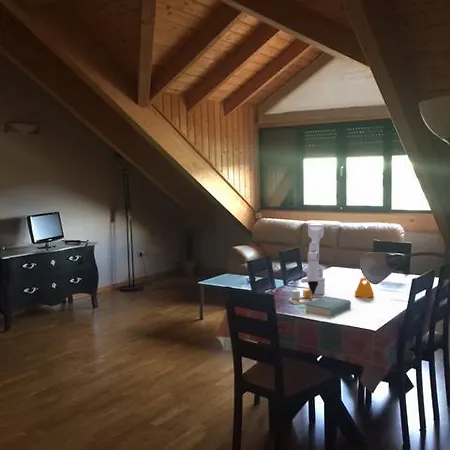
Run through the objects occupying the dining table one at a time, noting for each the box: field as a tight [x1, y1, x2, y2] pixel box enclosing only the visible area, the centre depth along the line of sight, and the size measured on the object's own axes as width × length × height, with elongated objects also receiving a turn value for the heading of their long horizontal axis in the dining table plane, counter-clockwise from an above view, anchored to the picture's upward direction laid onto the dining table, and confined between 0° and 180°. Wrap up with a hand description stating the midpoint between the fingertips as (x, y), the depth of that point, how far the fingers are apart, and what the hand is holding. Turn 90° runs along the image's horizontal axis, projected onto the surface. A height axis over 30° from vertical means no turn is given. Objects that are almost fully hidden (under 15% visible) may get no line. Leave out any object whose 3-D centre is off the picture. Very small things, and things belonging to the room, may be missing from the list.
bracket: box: [354, 276, 375, 298], centre depth 341 cm, size 11×7×12 cm, turn 79°
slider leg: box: [302, 288, 313, 300], centre depth 328 cm, size 4×7×5 cm, turn 14°
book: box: [304, 295, 352, 318], centre depth 309 cm, size 23×16×5 cm
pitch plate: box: [288, 289, 325, 305], centre depth 328 cm, size 22×9×6 cm, turn 104°
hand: (312, 293), depth 331 cm, fingers closed
